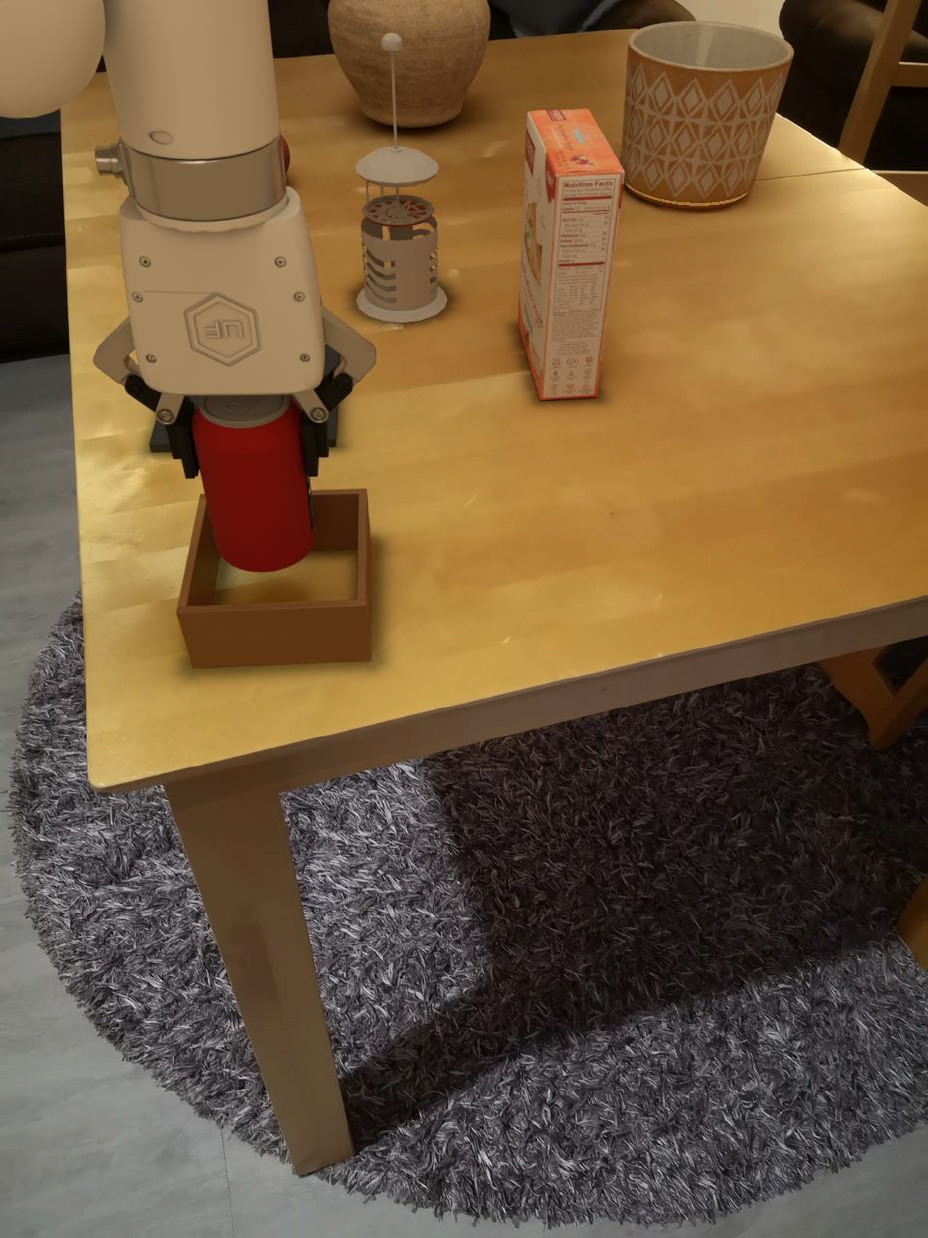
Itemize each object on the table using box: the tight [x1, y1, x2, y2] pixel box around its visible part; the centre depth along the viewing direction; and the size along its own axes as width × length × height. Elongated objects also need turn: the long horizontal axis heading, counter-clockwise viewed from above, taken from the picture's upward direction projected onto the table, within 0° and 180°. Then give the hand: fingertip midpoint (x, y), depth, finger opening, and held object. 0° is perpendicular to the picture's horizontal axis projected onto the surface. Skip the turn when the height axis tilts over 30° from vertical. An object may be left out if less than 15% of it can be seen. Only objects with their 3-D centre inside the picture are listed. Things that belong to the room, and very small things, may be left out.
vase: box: [327, 0, 491, 129], centre depth 127 cm, size 22×22×30 cm
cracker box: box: [517, 108, 625, 401], centre depth 84 cm, size 14×6×21 cm, turn 6°
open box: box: [175, 488, 372, 669], centre depth 66 cm, size 12×12×6 cm
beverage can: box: [191, 394, 315, 573], centre depth 59 cm, size 7×7×12 cm
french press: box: [354, 33, 448, 324], centre depth 91 cm, size 10×12×25 cm
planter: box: [620, 20, 795, 211], centre depth 115 cm, size 19×19×16 cm
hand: (254, 462), depth 59 cm, fingers closed on beverage can, 6 cm apart
